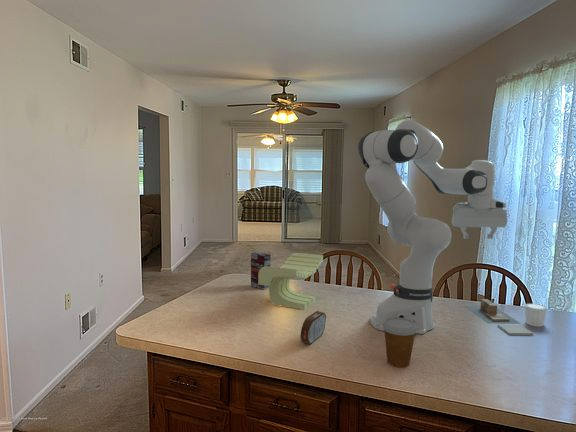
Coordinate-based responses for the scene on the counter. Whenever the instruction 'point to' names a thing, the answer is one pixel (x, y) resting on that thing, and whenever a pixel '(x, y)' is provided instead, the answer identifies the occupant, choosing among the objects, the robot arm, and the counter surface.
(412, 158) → the robot arm
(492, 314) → the tan stepped block
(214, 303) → the counter surface
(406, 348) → the disposable coffee cup
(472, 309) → the tool rest mat
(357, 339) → the counter surface
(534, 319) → the white cup
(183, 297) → the counter surface
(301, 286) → the counter surface
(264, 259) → the supplement box
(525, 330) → the tile
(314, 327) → the tin
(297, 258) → the slatted curved stool
